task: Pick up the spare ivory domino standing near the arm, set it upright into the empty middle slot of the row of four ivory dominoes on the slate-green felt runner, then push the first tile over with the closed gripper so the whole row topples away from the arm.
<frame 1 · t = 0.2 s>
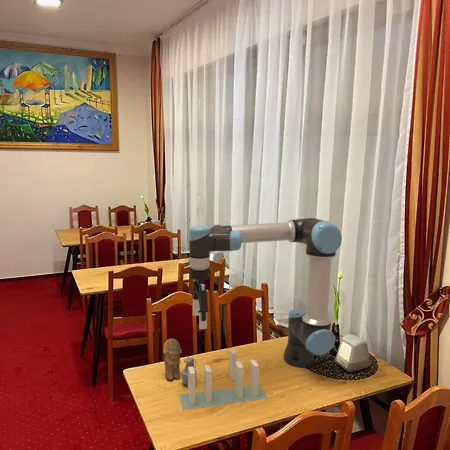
hand: (199, 321, 161), 27 cm above the table, fingers open, 13 cm apart
figurine: (174, 376, 174), on the table
hand grenade: (189, 385, 167), on the table
domino 1: (253, 392, 161), point 1 cm above the table, touching felt runner
domino 2: (238, 394, 160), point 1 cm above the table, touching felt runner
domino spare: (232, 378, 173), on the table
domino 5: (191, 400, 156), point 1 cm above the table, touching felt runner
domino 4: (207, 398, 157), point 1 cm above the table, touching felt runner
felt runner: (223, 397, 159), on the table
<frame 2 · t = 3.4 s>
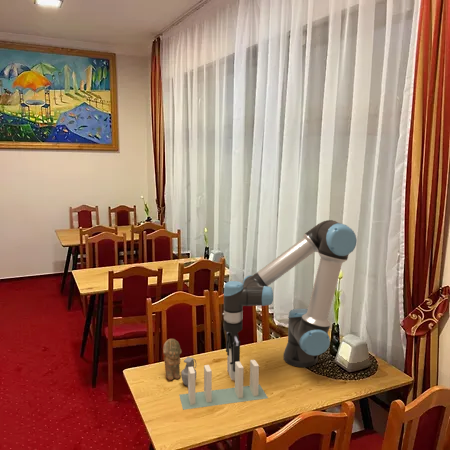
hand: (232, 374, 172), 2 cm above the table, fingers closed on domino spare, 5 cm apart
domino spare: (232, 378, 173), on the table, touching gripper
everything else where it was.
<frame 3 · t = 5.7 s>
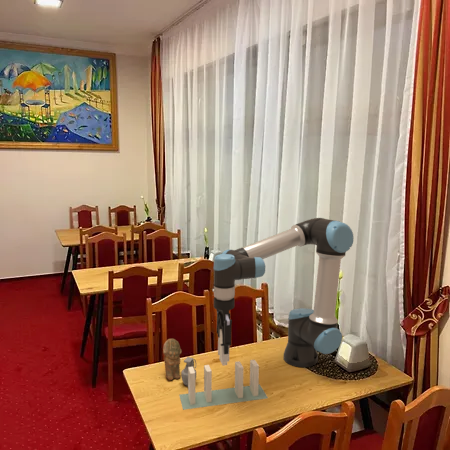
hand: (223, 357, 156), 16 cm above the table, fingers closed on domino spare, 5 cm apart
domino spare: (223, 362, 156), point 14 cm above the table, touching gripper
everything else where it was.
when the fingers open (2 cm above the table, at t = 8.3 s): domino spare stays where it is, resting on felt runner.
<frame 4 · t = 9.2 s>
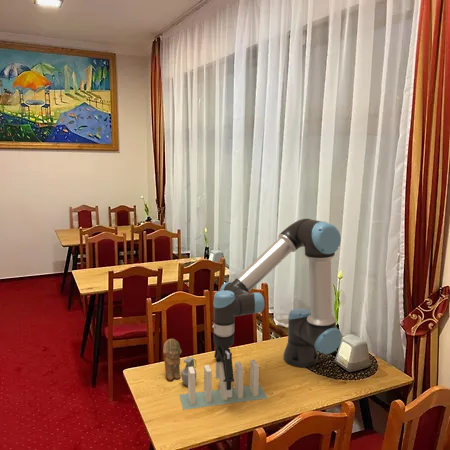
hand: (223, 387, 158), 4 cm above the table, fingers open, 13 cm apart
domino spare: (223, 396, 158), point 1 cm above the table, touching felt runner
everything else where it was.
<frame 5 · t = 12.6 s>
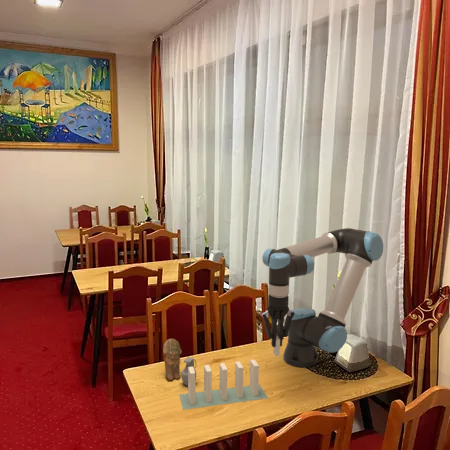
hand: (276, 354, 161), 15 cm above the table, fingers closed
nothing on the table moved.
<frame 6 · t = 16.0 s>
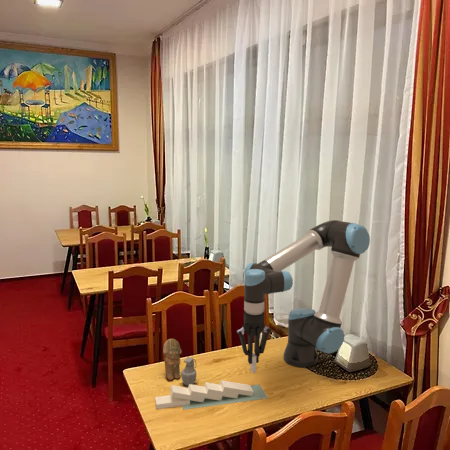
hand: (253, 370, 160), 9 cm above the table, fingers closed
domino 1: (250, 390, 161), point 1 cm above the table, tilted 73°, touching domino 2
domino 2: (235, 392, 159), point 1 cm above the table, tilted 73°, touching domino 1, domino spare, felt runner
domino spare: (219, 394, 158), point 1 cm above the table, tilted 72°, touching domino 2, domino 4, felt runner
domino 5: (188, 398, 155), point 2 cm above the table, tilted 90°, touching domino 4, felt runner
domino 4: (202, 396, 156), point 2 cm above the table, tilted 72°, touching domino 5, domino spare
everything else where it was.
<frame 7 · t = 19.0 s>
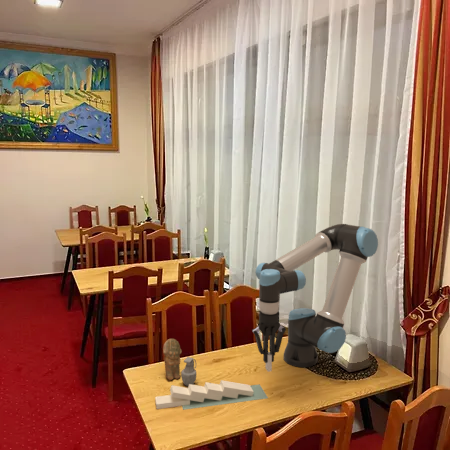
hand: (268, 369, 162), 9 cm above the table, fingers closed
nothing on the table moved.
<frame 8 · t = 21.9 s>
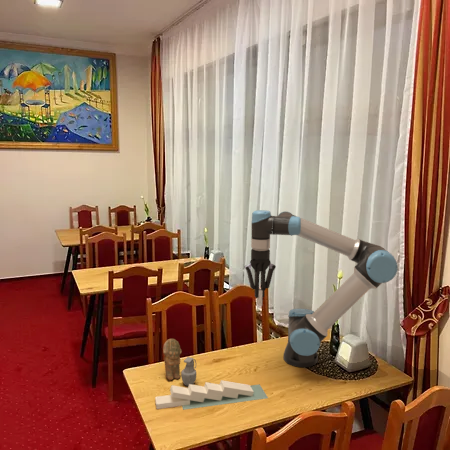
hand: (259, 304, 174), 29 cm above the table, fingers closed
nothing on the table moved.
at the end: domino 5 tilted 90°; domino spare tilted 72°; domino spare inside the target area (0.1 cm from its centre), point 1.5 cm above the table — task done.
